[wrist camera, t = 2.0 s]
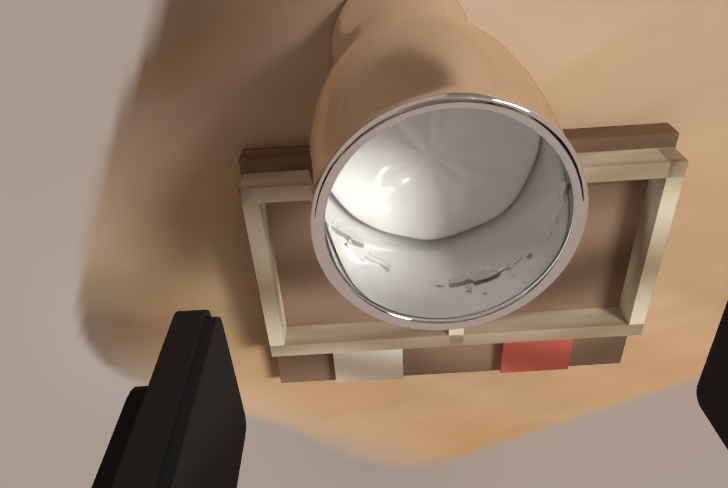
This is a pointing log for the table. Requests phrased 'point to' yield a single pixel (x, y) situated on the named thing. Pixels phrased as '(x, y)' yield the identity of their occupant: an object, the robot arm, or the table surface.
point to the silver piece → (437, 170)
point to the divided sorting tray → (488, 340)
